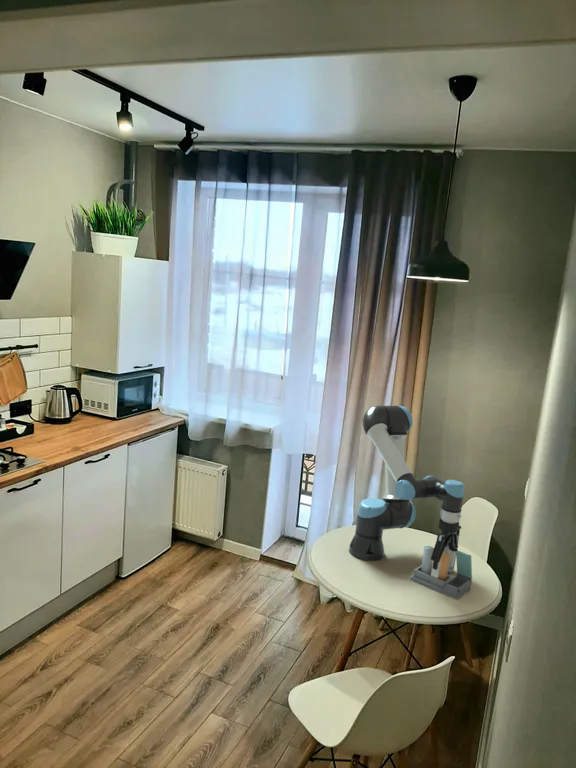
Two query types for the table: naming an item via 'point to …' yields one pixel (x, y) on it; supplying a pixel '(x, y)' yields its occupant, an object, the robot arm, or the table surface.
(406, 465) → the robot arm
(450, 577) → the housing
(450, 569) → the travel mug
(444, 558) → the orange capsule
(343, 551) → the table surface
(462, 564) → the lid
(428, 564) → the ball
